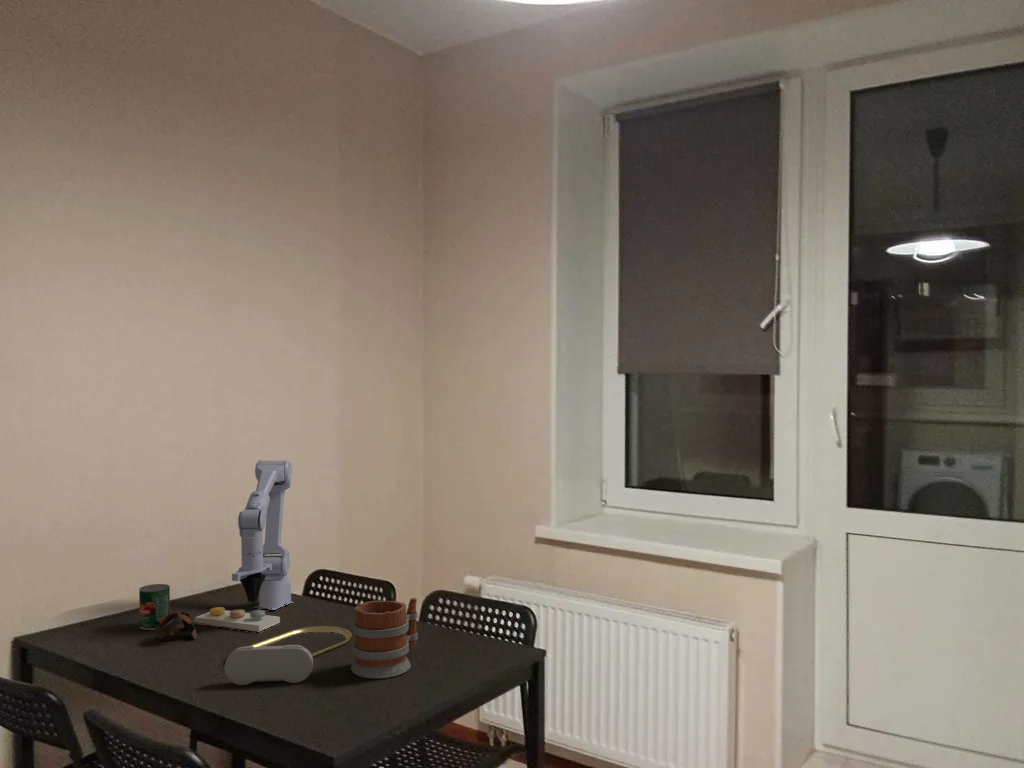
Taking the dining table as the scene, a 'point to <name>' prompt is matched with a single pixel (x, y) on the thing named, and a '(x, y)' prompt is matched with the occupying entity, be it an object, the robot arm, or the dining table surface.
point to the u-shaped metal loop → (305, 630)
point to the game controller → (269, 664)
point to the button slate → (257, 613)
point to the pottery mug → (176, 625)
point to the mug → (383, 638)
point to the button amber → (217, 611)
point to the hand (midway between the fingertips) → (252, 601)
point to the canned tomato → (154, 604)
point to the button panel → (239, 621)
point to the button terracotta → (237, 613)
